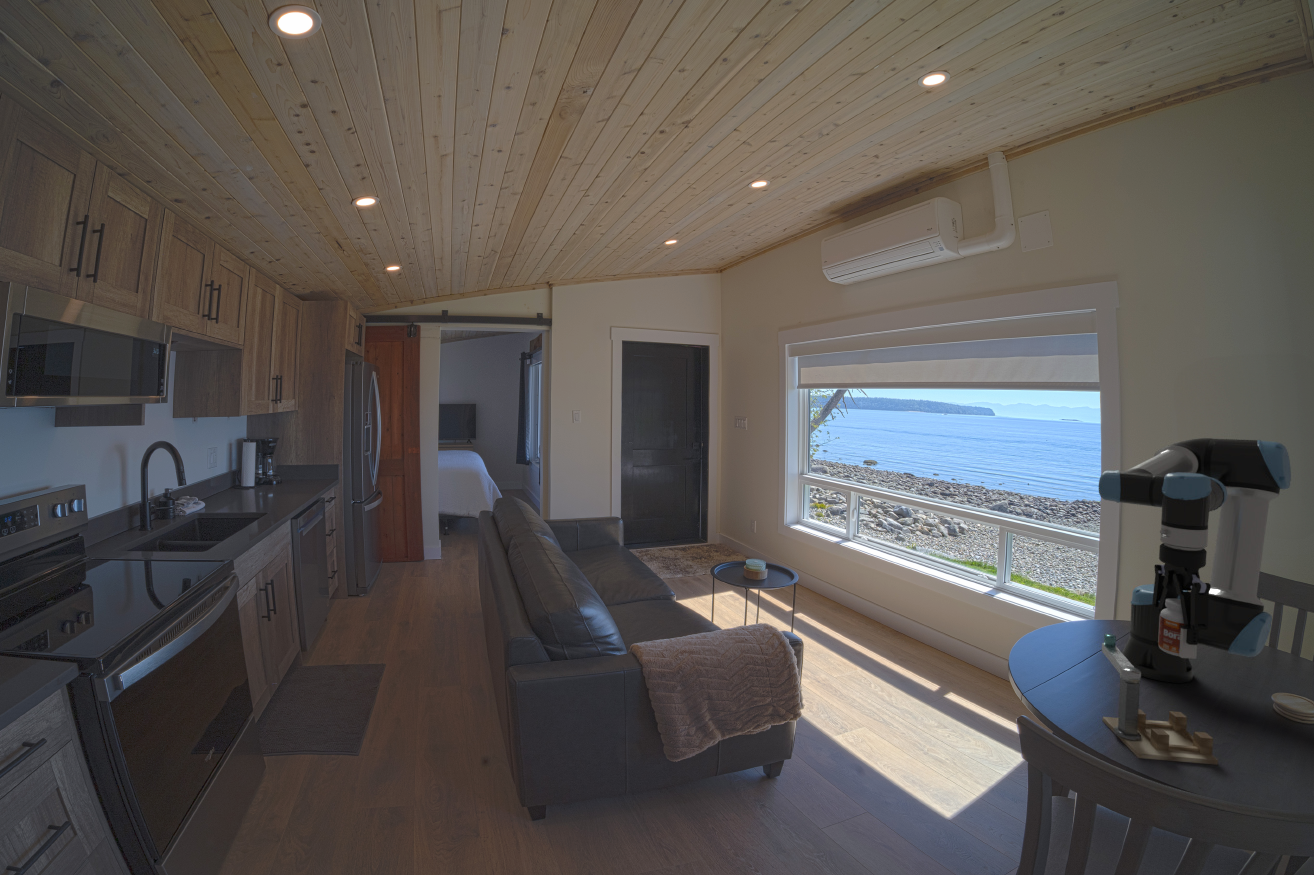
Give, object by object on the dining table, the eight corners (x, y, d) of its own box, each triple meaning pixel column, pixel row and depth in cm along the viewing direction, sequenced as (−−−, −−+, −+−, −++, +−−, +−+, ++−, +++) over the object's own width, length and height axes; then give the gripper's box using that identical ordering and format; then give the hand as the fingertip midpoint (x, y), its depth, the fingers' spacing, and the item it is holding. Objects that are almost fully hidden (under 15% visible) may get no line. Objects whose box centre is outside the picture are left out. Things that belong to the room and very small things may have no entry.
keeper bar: (1143, 684, 129) (1144, 664, 128) (1123, 681, 130) (1124, 662, 130) (1116, 652, 143) (1117, 634, 143) (1098, 650, 145) (1099, 632, 144)
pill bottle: (1158, 652, 128) (1160, 602, 127) (1158, 643, 133) (1160, 594, 132) (1197, 660, 124) (1200, 609, 123) (1195, 650, 129) (1198, 600, 128)
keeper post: (1133, 729, 134) (1135, 676, 133) (1146, 742, 129) (1149, 687, 128) (1109, 727, 135) (1111, 674, 134) (1121, 740, 130) (1124, 685, 129)
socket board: (1173, 726, 137) (1174, 707, 136) (1218, 764, 123) (1219, 744, 123) (1102, 720, 139) (1103, 702, 139) (1138, 757, 126) (1139, 737, 125)
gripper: (1135, 534, 137) (1130, 631, 139) (1194, 558, 118) (1187, 670, 120) (1172, 534, 135) (1166, 633, 137) (1238, 559, 117) (1230, 672, 119)
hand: (1176, 650), depth 129 cm, fingers closed on pill bottle, 6 cm apart
